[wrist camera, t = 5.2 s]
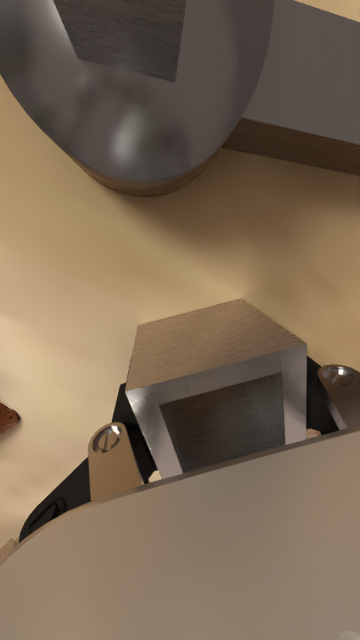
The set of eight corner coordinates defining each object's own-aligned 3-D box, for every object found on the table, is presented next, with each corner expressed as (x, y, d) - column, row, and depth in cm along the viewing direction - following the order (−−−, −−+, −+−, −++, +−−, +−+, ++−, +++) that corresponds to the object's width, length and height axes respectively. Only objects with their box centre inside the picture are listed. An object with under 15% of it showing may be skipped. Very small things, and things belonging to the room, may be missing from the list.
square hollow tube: (251, 382, 13) (305, 462, 8) (164, 405, 13) (170, 499, 8) (241, 298, 11) (306, 343, 6) (137, 325, 11) (124, 391, 6)
